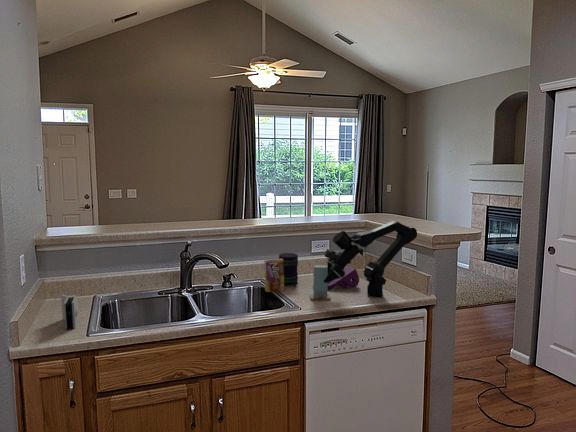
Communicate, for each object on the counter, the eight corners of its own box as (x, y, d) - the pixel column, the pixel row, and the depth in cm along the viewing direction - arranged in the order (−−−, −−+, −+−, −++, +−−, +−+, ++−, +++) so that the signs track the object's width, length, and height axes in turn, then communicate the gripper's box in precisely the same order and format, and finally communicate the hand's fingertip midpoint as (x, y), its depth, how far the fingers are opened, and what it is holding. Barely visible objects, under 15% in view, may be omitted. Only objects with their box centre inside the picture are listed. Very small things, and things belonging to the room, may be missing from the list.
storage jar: (287, 287, 220) (287, 257, 218) (274, 283, 227) (274, 254, 225) (301, 283, 226) (302, 255, 224) (289, 279, 234) (289, 252, 232)
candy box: (282, 288, 217) (282, 258, 216) (284, 291, 213) (284, 260, 211) (264, 289, 215) (264, 259, 213) (266, 292, 211) (266, 261, 209)
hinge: (62, 319, 174) (60, 294, 173) (77, 317, 177) (76, 292, 176) (65, 330, 163) (64, 304, 161) (81, 328, 165) (80, 302, 164)
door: (326, 295, 203) (326, 265, 202) (327, 297, 200) (327, 267, 199) (312, 295, 203) (313, 265, 201) (313, 297, 200) (313, 267, 198)
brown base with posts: (328, 296, 205) (329, 287, 205) (330, 300, 199) (330, 292, 198) (309, 296, 205) (309, 288, 204) (310, 300, 199) (310, 292, 198)
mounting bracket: (333, 302, 215) (361, 282, 222) (327, 288, 213) (355, 268, 219) (323, 296, 224) (350, 278, 230) (317, 283, 221) (345, 264, 227)
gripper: (332, 239, 208) (309, 262, 209) (337, 247, 190) (312, 272, 191) (348, 255, 209) (325, 278, 210) (355, 265, 191) (330, 290, 192)
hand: (323, 279), depth 201 cm, fingers open, 9 cm apart
